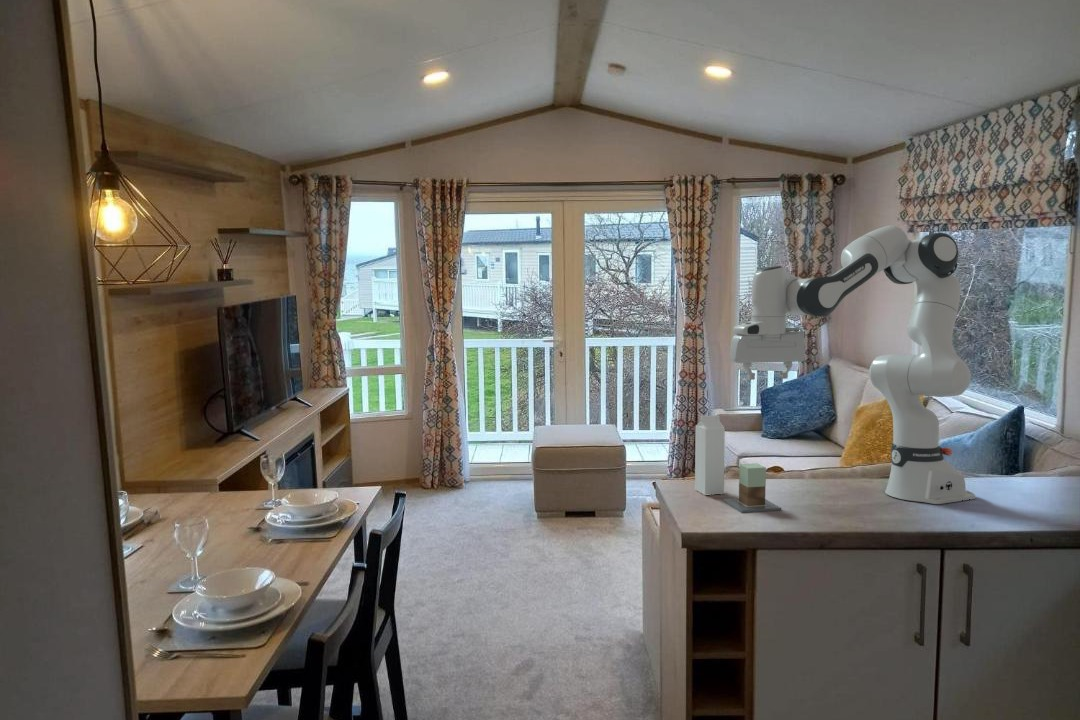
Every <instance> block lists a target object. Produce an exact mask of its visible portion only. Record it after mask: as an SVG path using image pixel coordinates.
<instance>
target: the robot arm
mask: <svg viewBox="0 0 1080 720" xmlns="http://www.w3.org/2000/svg"><path fill="white" fill-rule="evenodd" d="M958 260H959V248H958V245H957V242H956V240H955V239H954V238H953V237H952V236H951V235H950V234H948V233H945V232H933V233H929V234H925V235H924V236H921V237H919V238H916V239H914V240H911V239H909V238H908V235H907V234H906V232H905V230H903V229H902V228H901V227H900V226H899V227H898V226H896V225H886V226H882V227H880V228H876V229H874V230H871V231H869V232H867V233H865V234H863V235H861V236H860V237H858V238H856V239H855V240H853V241H851V242H850V243H849V244H847V245H846V246H845V247H844V248H843V249H842V251H841V255H840V263H841V266H842V268H840V269H839V270H837V271H836V272H835V273H833V274H832V275H829V276H819V277H812V278H810V277H807V278H799V277H797V276H795V275H794V274H792V273H790V272H788V271H787V270H786V269H785V268H784V266H782V265H773V266H767V267H762V268H758V269H757V270H756V271H755V272H754V275H753V277H752V282H751V283H752V284H751V303H752V311H751V315H750V320H749V321H746V322H744V323H741V324H738V325H735V326H734V327H733V331H732V332H733V334H734V336H732V338H731V340H730V348H729V359H730V361H731V362H732V363H735V364H742V367H743V368H744V371H745V372H746V379H747V381H750V380H751V381H754V380H756V377H755V376H756V373H755V372H752V369H751V367H752V363H753V364H754V363H756V364H757V363H782V364H783V366H784V367H783V369H782V371H779V378H780V379H783V380H785V379H786V380H787V379H788V377H789V372H790V370H791V368H792V367H793V363H795V362H796V363H797V362H798V363H799V362H803V361H804V360H805V358H806V348H805V346H806V345H805V332H804V330H803V329H802V328H800V327H799V326H798V327H797V326H794V327H793V326H792V327H791V326H786V323H787V322H786V320H787V318H786V317H787V315H788V314H789V315H793V316H794V315H798V316H813V317H818V318H819V317H821V318H823V317H825V316H828V315H830V314H831V313H833V312H834V311H835V310H836V309H837V307H838V306H839V305H840V303H841V302H842V300H844V298H845V297H846V296H848V295H849V294H851V293H852V292H853V291H855V290H856V289H858V288H859V287H860V286H862V285H864V283H866V282H867V281H869V280H871V278H872V277H874V276H875V275H877V274H879V273H881V272H882V271H883V272H884V274H885V276H886V277H887V279H889V280H890V281H891V282H892V283H893V284H897V285H907V284H909V285H910V284H912V283H914V282H915V283H916V289H917V291H916V296H915V300H914V301H913V305H912V309H911V313H910V316H909V320H908V323H907V324H908V325H907V327H906V331H907V335H908V337H909V339H911V340H912V341H913V342H915V343H916V344H917V345H919V346H921V352H920V353H919V354H909V353H908V354H907V353H889V354H883V355H878V356H877V357H875V358H874V359H873V361H872V362H871V364H870V366H869V370H868V377H869V380H870V382H871V384H872V385H873V387H874V388H876V389H877V390H878V391H879V392H880V393H881V394H882V396H883V397H884V399H885V401H886V402H887V403H888V405H889V409H890V412H891V415H892V425H893V426H892V430H893V431H892V432H893V433H892V437H893V438H892V443H891V446H890V459H891V466H890V467H891V468H890V472H889V473H890V474H889V477H888V481H887V486H886V488H885V491H884V493H885V494H886V495H888V496H890V497H893V498H896V499H900V500H904V501H905V500H906V501H909V502H910V501H911V502H919V503H920V502H921V503H926V504H933V505H942V504H949V503H955V502H963V501H968V500H969V499H970V500H975V499H976V495H975V494H974V493H973V491H972V492H971V491H970V490H967V488H966V480H965V477H964V475H963V473H961V472H960V471H959V470H957V468H955V467H953V465H952V464H950V463H949V462H948V461H946V460H945V458H944V455H946V456H952V454H953V450H952V448H949V447H945V446H944V447H941V446H940V445H939V436H940V435H939V434H940V421H939V417H938V416H937V415H936V413H934V412H933V411H931V410H930V409H928V408H927V407H926V406H925V405H924V404H923V403H922V401H921V398H920V396H926V397H927V396H928V397H934V398H935V397H936V398H937V397H938V398H947V397H957V396H961V395H962V394H963V393H965V392H966V390H967V389H968V388H969V386H970V383H971V378H972V375H971V370H970V368H969V366H968V364H967V363H966V362H965V361H964V360H963V359H962V358H960V357H959V355H958V354H957V352H956V349H954V343H953V335H954V328H955V324H956V319H957V314H958V311H959V306H960V300H961V282H960V280H959V279H958V277H957V276H955V274H954V273H955V271H956V270H957V268H958ZM962 500H963V501H962ZM970 500H969V501H970Z"/></svg>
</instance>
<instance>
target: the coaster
mask: <svg viewBox="0 0 1080 720" xmlns="http://www.w3.org/2000/svg"><path fill="white" fill-rule="evenodd" d="M722 501H723V502H724V503H726V504H727V505H729V506H731V507H732V508H734V509H735V510H737V511H738V512H739V513H742V514H743V513H759V512H774V511H775V512H776V511H782V507H781V506H779V505H777V504H775V503H773V502H771V501H769V500H768V499H766V498H765V505H757V506H746V505H745V504H743V503H741V502H740V501H739V497H736V498H735V497H733V498H723V499H722Z"/></svg>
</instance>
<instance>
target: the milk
mask: <svg viewBox="0 0 1080 720" xmlns="http://www.w3.org/2000/svg"><path fill="white" fill-rule="evenodd" d="M720 417H721V416H720V415H719V414H718V415H717V414H716V415H713V414H712V415H701V416H700V420H699V422H697V424H696V425H695V434H694V435H695V441H694V442H695V445H694V446H695V448H694V450H695V455H694V457H695V458H694V459H695V461H694V463H695V464H694V465H695V467H694V471H695V472H694V491H695V490H698V491H700V492H702V493H703V494H721V495H725V447H726V446H725V444H726V443H725V441H726V439H725V437H726V434H725V433H726V432H725V431H726V430H725V429H726V428H725V426H724V425H723V424H722V422H721V419H720Z"/></svg>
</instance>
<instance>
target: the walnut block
mask: <svg viewBox="0 0 1080 720" xmlns="http://www.w3.org/2000/svg"><path fill="white" fill-rule="evenodd" d="M738 498H739V501H740V502H741V503H743V504H745V505H746V506H757V505H765V499H766V486H762V487H746V486H744V485H743V484H741V483H739V482H738Z"/></svg>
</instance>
